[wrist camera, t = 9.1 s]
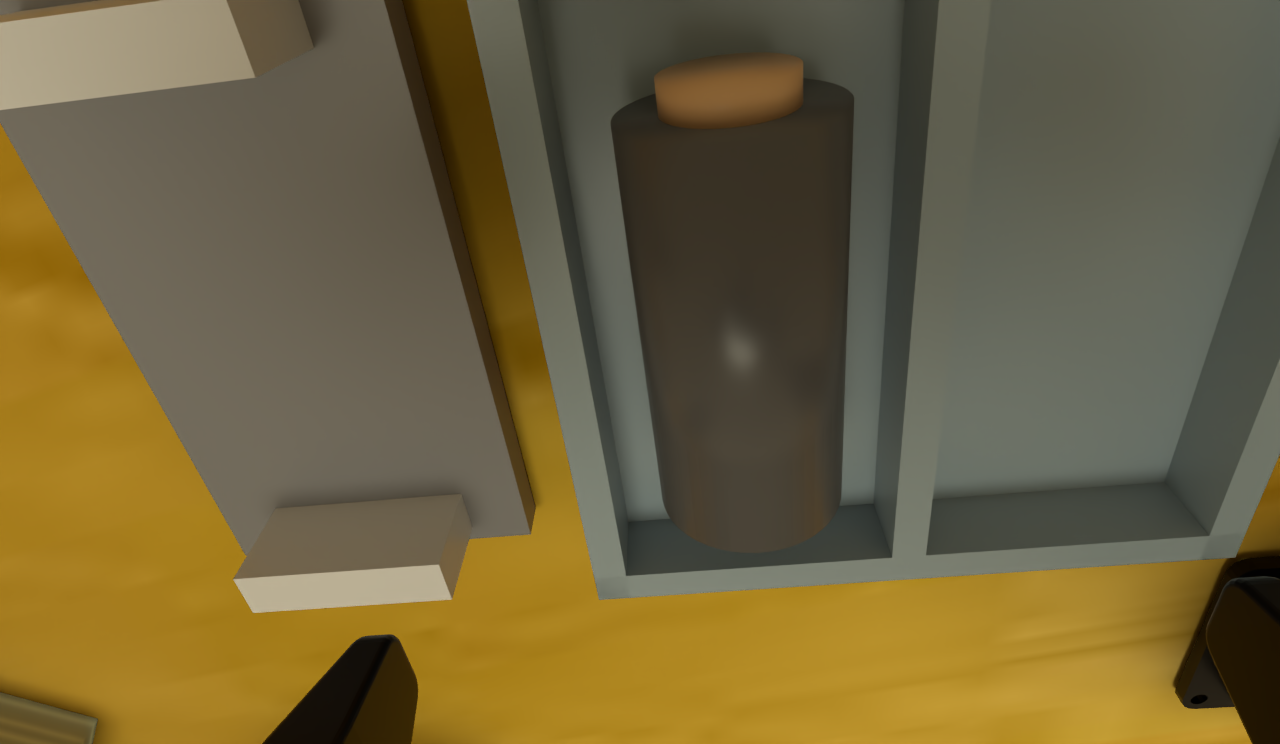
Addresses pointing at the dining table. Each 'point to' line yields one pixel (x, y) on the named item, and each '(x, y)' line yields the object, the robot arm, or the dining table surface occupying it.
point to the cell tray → (945, 275)
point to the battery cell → (741, 291)
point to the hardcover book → (42, 723)
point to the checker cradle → (280, 275)
